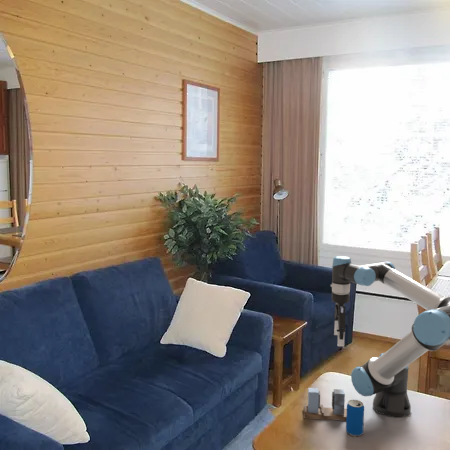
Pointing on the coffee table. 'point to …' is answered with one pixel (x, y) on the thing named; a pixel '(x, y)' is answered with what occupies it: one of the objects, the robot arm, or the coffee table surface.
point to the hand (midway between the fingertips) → (339, 340)
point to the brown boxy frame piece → (330, 413)
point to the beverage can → (355, 417)
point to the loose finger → (313, 400)
